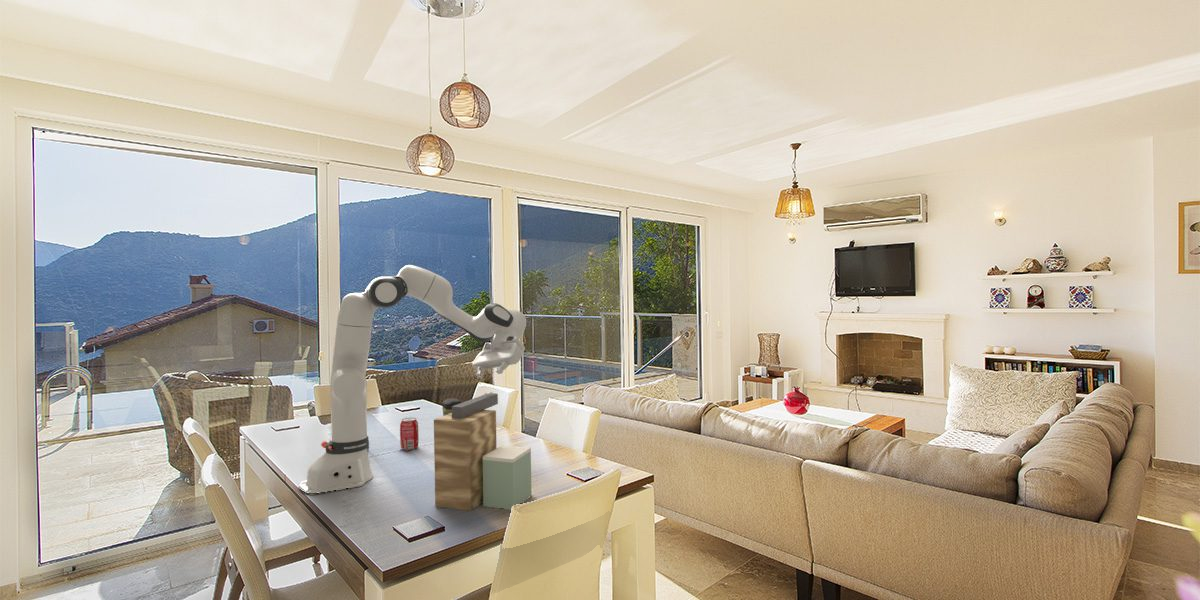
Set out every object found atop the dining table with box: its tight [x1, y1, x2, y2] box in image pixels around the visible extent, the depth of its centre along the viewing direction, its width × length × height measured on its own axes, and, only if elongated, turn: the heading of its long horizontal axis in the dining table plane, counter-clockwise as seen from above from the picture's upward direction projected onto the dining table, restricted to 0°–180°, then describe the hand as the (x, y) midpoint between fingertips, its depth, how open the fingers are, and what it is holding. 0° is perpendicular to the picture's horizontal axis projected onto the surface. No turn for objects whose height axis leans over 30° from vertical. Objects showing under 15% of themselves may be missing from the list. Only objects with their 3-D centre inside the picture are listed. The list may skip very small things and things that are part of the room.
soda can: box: [399, 417, 420, 451], centre depth 227 cm, size 7×7×12 cm
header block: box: [482, 445, 532, 511], centre depth 170 cm, size 12×10×15 cm
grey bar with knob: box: [452, 391, 499, 419], centre depth 177 cm, size 22×4×4 cm, turn 162°
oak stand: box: [433, 409, 498, 511], centre depth 172 cm, size 16×12×26 cm
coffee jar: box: [442, 397, 464, 416], centre depth 234 cm, size 10×8×19 cm
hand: (488, 374), depth 197 cm, fingers open, 8 cm apart
